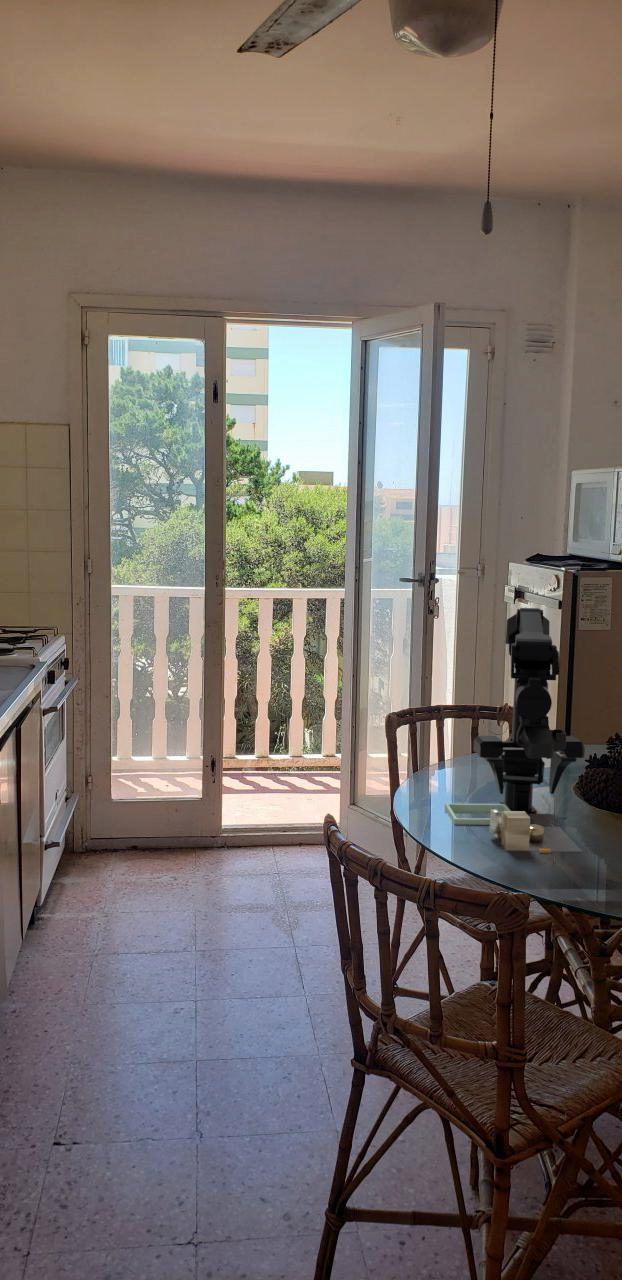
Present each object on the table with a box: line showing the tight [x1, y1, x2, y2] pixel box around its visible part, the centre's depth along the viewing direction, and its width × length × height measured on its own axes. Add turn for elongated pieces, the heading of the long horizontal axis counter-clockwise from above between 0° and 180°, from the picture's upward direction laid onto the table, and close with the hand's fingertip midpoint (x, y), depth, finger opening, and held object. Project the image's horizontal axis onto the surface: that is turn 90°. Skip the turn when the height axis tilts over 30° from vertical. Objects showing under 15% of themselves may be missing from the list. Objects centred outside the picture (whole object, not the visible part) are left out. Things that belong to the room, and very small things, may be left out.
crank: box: [489, 809, 545, 841], centre depth 183 cm, size 10×4×5 cm, turn 92°
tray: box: [444, 803, 511, 826], centre depth 196 cm, size 10×12×2 cm
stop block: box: [501, 811, 531, 850], centre depth 178 cm, size 4×4×6 cm
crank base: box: [487, 826, 583, 854], centre depth 183 cm, size 15×14×2 cm
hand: (526, 793), depth 177 cm, fingers open, 9 cm apart
